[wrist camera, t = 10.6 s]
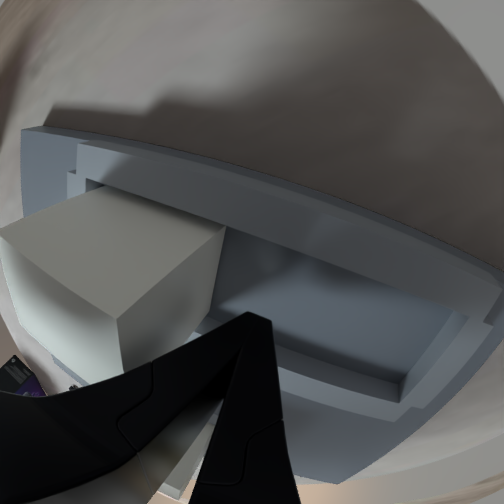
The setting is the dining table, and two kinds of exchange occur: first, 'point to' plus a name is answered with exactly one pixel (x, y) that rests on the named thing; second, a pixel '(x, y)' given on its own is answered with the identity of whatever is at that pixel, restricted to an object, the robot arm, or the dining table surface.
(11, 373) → the box
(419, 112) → the dining table surface
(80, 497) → the robot arm
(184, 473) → the tab
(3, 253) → the tab
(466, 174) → the dining table surface
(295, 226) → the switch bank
